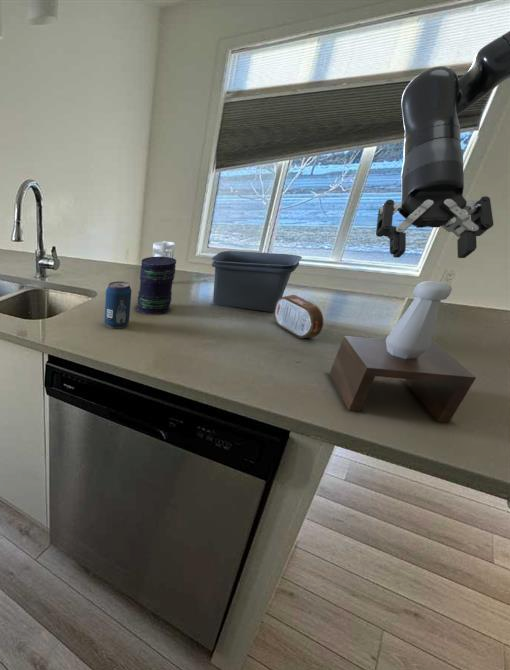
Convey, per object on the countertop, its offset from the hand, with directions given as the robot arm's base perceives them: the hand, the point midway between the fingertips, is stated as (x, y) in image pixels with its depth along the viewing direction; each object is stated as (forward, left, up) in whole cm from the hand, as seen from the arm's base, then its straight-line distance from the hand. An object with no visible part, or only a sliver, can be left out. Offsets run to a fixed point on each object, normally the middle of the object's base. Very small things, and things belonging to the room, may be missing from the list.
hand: (431, 255), depth 68 cm
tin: (+10, -25, -26) cm, 37 cm away
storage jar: (+45, -36, -26) cm, 63 cm away
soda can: (+54, -21, -26) cm, 63 cm away
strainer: (+45, -64, -26) cm, 82 cm away
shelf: (0, +5, -25) cm, 26 cm away
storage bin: (+19, -45, -26) cm, 55 cm away
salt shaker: (0, +5, -17) cm, 17 cm away
